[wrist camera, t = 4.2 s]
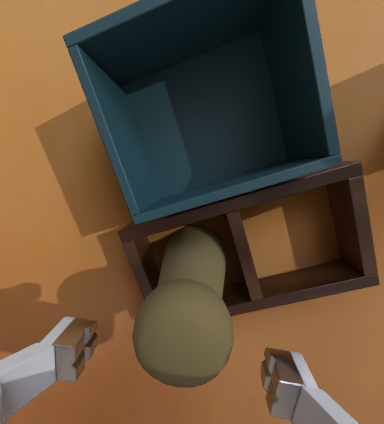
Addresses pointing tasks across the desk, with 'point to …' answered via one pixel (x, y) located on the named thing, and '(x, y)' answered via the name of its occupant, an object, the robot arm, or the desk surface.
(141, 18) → the bin
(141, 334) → the olive pepper mill
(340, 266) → the holder
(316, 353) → the desk surface
